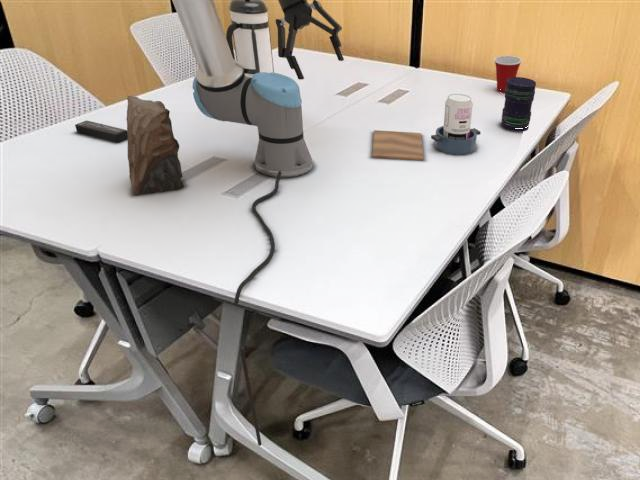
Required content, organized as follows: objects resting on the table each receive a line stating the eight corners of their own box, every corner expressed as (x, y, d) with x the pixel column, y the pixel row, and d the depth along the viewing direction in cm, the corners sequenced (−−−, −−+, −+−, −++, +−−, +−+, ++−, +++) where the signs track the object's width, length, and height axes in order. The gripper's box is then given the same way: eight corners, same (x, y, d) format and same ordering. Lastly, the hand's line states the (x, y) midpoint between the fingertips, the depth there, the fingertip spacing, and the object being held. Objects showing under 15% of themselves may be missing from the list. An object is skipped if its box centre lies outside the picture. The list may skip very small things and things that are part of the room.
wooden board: (423, 160, 173) (423, 157, 172) (372, 157, 171) (372, 155, 170) (420, 135, 188) (421, 132, 187) (374, 132, 186) (374, 130, 186)
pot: (488, 150, 183) (489, 135, 180) (444, 158, 175) (445, 143, 172) (465, 135, 191) (466, 122, 188) (422, 143, 183) (423, 129, 180)
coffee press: (232, 77, 217) (218, -16, 198) (276, 77, 221) (267, -14, 202) (233, 92, 204) (219, -6, 185) (280, 91, 209) (271, -4, 190)
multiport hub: (118, 143, 164) (115, 134, 162) (76, 132, 167) (74, 124, 165) (129, 137, 167) (127, 129, 166) (88, 128, 170) (86, 120, 169)
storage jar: (531, 124, 204) (538, 80, 195) (526, 133, 197) (534, 88, 188) (503, 119, 206) (509, 75, 196) (497, 128, 199) (504, 82, 189)
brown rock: (138, 173, 151) (117, 93, 138) (191, 172, 154) (174, 94, 141) (131, 195, 141) (107, 112, 129) (187, 193, 145) (169, 112, 132)
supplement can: (453, 139, 187) (457, 91, 178) (473, 147, 184) (478, 98, 174) (436, 145, 182) (440, 96, 173) (457, 154, 179) (461, 104, 169)
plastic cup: (485, 87, 234) (489, 55, 226) (508, 85, 238) (513, 54, 230) (498, 95, 227) (502, 63, 219) (522, 94, 231) (527, 62, 223)
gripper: (332, -26, 162) (362, 53, 169) (258, 12, 170) (290, 86, 176) (322, -31, 156) (354, 51, 162) (246, 9, 163) (279, 86, 169)
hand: (321, 69), depth 169 cm, fingers open, 13 cm apart
